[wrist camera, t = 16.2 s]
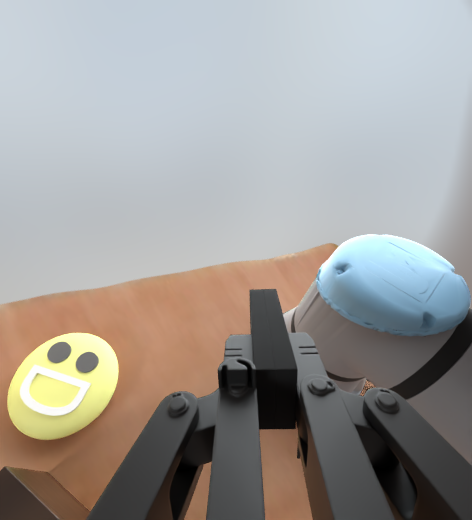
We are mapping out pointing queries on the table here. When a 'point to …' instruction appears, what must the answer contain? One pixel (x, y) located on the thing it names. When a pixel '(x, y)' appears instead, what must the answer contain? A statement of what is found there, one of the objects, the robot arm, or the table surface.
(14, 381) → the emoji
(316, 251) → the table surface
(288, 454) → the table surface
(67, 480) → the table surface
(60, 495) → the case
